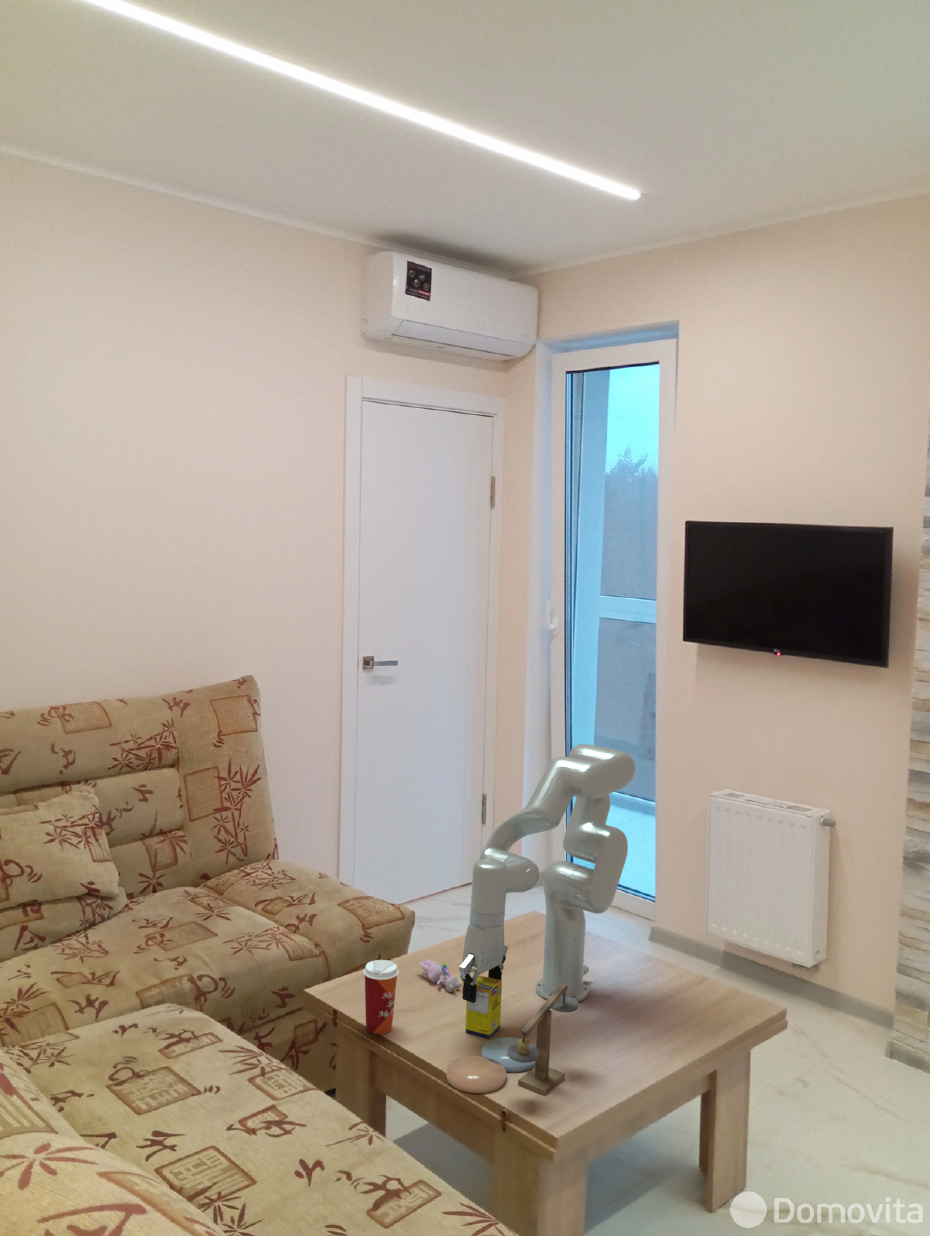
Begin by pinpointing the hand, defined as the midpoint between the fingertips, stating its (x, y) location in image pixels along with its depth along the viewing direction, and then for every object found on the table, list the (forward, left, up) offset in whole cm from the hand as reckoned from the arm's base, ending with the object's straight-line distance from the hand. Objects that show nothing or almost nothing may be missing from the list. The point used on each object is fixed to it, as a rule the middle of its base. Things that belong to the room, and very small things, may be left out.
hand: (481, 993), depth 219 cm
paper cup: (+13, -18, -9) cm, 24 cm away
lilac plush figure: (-13, -21, -9) cm, 27 cm away
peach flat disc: (+16, +10, -8) cm, 21 cm away
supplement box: (-1, 0, -9) cm, 9 cm away
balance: (+9, +21, -8) cm, 25 cm away
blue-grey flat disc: (+5, +11, -8) cm, 15 cm away
